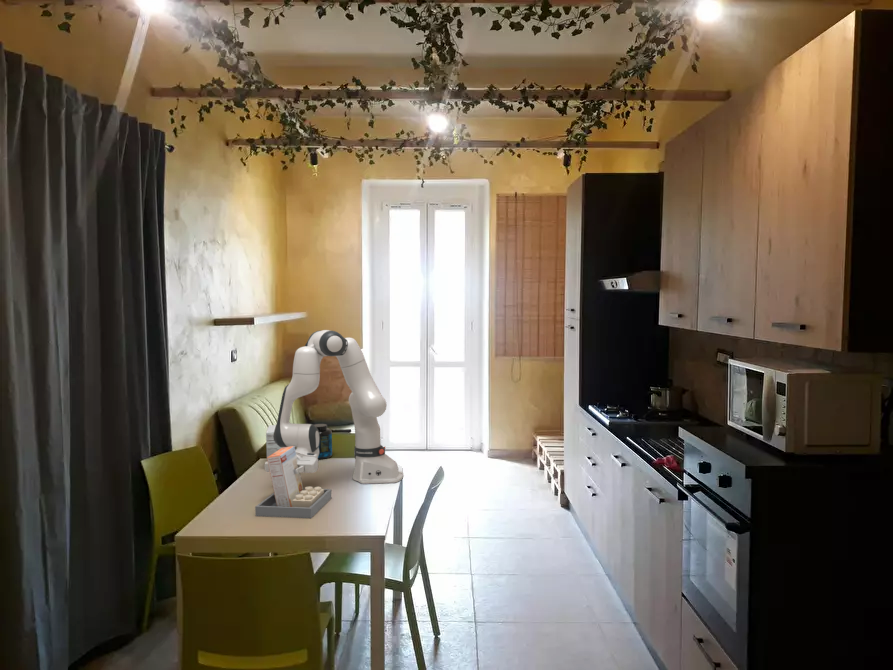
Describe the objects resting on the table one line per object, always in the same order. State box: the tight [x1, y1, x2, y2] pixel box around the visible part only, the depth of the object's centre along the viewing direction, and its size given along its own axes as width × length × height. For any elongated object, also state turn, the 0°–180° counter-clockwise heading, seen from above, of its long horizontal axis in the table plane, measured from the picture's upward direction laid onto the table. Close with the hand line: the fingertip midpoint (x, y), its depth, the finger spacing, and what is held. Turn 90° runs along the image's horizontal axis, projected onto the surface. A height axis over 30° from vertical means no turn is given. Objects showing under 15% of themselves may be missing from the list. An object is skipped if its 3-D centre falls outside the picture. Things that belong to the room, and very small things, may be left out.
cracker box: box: [266, 446, 304, 507], centre depth 225 cm, size 14×6×21 cm, turn 173°
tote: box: [254, 487, 332, 519], centre depth 224 cm, size 21×22×4 cm
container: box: [314, 423, 333, 460], centre depth 299 cm, size 12×12×16 cm
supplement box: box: [265, 424, 297, 458], centre depth 286 cm, size 17×13×18 cm
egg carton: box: [293, 485, 325, 508], centre depth 223 cm, size 7×14×6 cm, turn 172°
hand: (283, 471), depth 226 cm, fingers open, 8 cm apart
